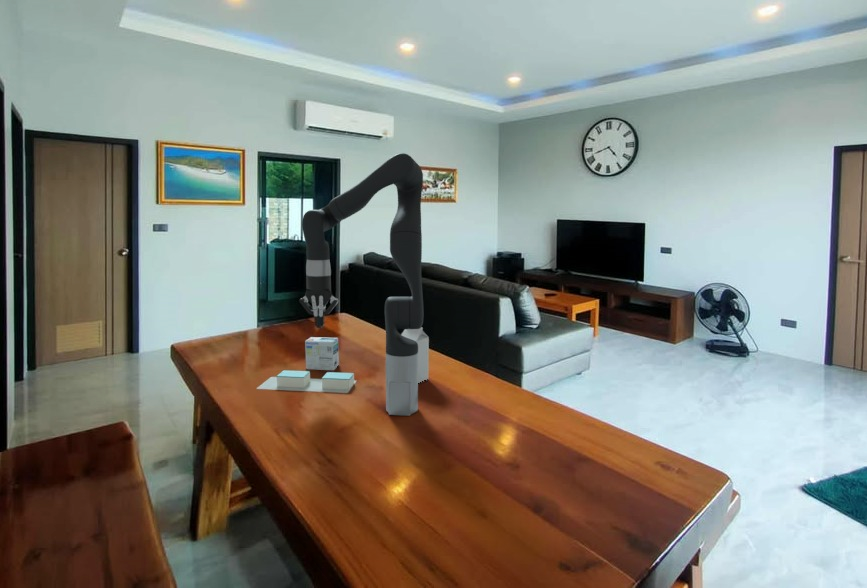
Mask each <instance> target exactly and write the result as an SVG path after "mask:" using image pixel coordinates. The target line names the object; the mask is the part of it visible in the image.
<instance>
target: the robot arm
mask: <svg viewBox="0 0 867 588" xmlns="http://www.w3.org/2000/svg"><path fill="white" fill-rule="evenodd" d="M423 182H424V173H423V170H422V168H421V166H420V165H419V164H418V163H417V161H416V160H415V159H414V158H413V157H412V156H411V155H409V154H407V153H405V152H401V153H397V154H394V155H393V156H391V157H389V158H388V159H387V160H385V162H384V163H382V164H381V165H380V166H378V167H377V168H376V169H375V170H373V171H371V173H370V174H368V175H367V176H366V177H364V179H362V180H361V181H360V182H359V183H357V184H355V185H354V186H353V187H351V188H349V189H348V190H346V191H344V192H343V193H341V194H339V195H338V196H336V197H334V198H332V199H330V201H329V203H328V204H327V205H325V206H324V207H322V208H320V209H309V210H308V211H306V212H304V214H303V216H302V220H301V227H302V234H303V239H304V241H305V245H306V264H305V273H306V277H305V278H306V281H305V282H306V292H305V294H304V296H303V297H301V298H299V300H298V302H299V303H300V304H301V305H302V307H303V308H304V310H305V311H306V312H307V313H308V315H312V316H313V317H314V319H313V320H314V326H315V328H316V329H322V328H323V327H324V326H325V316H328V315H329V314H330V313H331V312H332V311H333V309H334V308H335V307H336V306H337V304H338V303H339V302H340V300H339V298H337V297H335V296H334V295H333V292H332V281H331V280H332V279H331V275H332V269H331V262H330V261H331V260H330V257H331V256H330V246H329V242H328V241H326V239H325V232H327V231H329V230H331V229H333V228H334V227H335V226H337V225H338V224H339V223H341V222H342V221H343V220H345V219H347V218H350V217H351V216H353V215H355V214H356V213H358V212H360V211H362V209H364V208H365V207H366V206H367V205H368V203H369V202H370V201H371V200H372V198H373V197H374V196H375V195H376V194H377V193H378V192H380V191H381V190H383V189H385V188H387V187H388V186H392V185H394V186H395V187H396V191H397V193H396V194H397V210H396V214H395V216H394V218H393V221H392V223H391V226H390V230H389V253H390V255H391V258H392V260H393V261H394V262H395V264H396V265H397V267H398V268H399V270H400V272H401V273H402V274H403V276H404V278H405V280H406V282H407V284H408V286H409V289H410V292H411V296H389V297H387V298H386V300H385V302H384V324H385V325H384V326H385V411H386V412H387V413H388V415H389V416H406V417H408V416H409V417H410V416H411V415H413V414H415V413H416V412H418V410H419V384H418V344H417V342H416V341H414V340H412V339H409V338H406V337H404V336H402V335H401V333H399V331H398V330H405V329H420V328H421V327H422V326H423V324H424V318H425V317H424V316H425V315H424V313H425V311H424V299H423V298H424V296H423V281H422V280H423V279H422V254H423V253H422V251H423V250H422V248H423V246H422V245H423V243H422V241H423V239H422V238H423V237H422V236H423V235H422V234H423V233H422V210H421V209H422V207H421V205H422V204H421V203H422V193H423ZM328 303H330V305H328V307H327V306H326V305H327V304H328ZM326 308H327V309H326Z"/></svg>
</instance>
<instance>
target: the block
mask: <svg viewBox="0 0 867 588" xmlns="http://www.w3.org/2000/svg"><path fill="white" fill-rule="evenodd" d="M321 379H322V388H326V389H348V390H350V391H351V389H352V388H353V387H352V386H354V385H355V384H354V380H355V373H354V372H334V371H331V372H330V371H327V372H326V373H325V374H324V375H323V376H322V377H321ZM353 384H354V385H353ZM351 387H352V388H351ZM350 388H351V389H350Z"/></svg>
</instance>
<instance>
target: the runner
mask: <svg viewBox="0 0 867 588" xmlns="http://www.w3.org/2000/svg"><path fill="white" fill-rule="evenodd" d="M357 381H358V380H355V379H354V384H353V386H355V384H356V383H357ZM353 386H352V387H351V388H350V390H348V389H326V388H322V378H311V377H310V382H309V383H308V384H307V385H306V386H305V387H304V388H303V387H281V386H277V376H271V377H269V378H267V379H266V380H265V381H264V382H262V383H261V384H260V385H258V387H256V390H271V391H273V390H274V391H275V390H277V391H293V392H294V391H295V392H314V393H315V392H317V393H318V392H319V393H336V394H337V393H341V394H342V393H343V394H349V392H350V391H351V390H352V388H353Z"/></svg>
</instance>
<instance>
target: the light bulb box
mask: <svg viewBox="0 0 867 588" xmlns="http://www.w3.org/2000/svg"><path fill="white" fill-rule="evenodd" d="M304 347H305V348H304V349H305V370H314V371H315V370H320V371H335V370H336V369H337V366H338V365H339V366H340V359H339V357H340V353H339V351H340V350H339V337H325V336H324V337H321V336H320V337H319V336H318V337H317V336H316V337H314V336H310V337H309V338H308V339H305V341H304ZM339 366H338V367H339Z"/></svg>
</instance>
